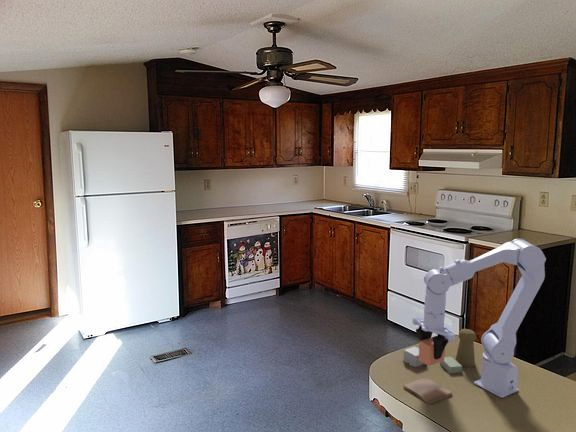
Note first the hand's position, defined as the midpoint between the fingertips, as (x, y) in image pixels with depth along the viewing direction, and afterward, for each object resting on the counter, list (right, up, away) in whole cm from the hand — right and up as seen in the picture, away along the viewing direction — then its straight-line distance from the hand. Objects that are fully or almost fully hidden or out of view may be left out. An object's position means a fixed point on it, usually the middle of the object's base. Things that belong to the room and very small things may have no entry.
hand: (431, 355), depth 139 cm
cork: (+15, -7, +15) cm, 22 cm away
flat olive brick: (+9, -8, +11) cm, 16 cm away
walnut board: (-2, -10, -3) cm, 10 cm away
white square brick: (-1, -7, +14) cm, 16 cm away
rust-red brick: (0, -2, 0) cm, 2 cm away
